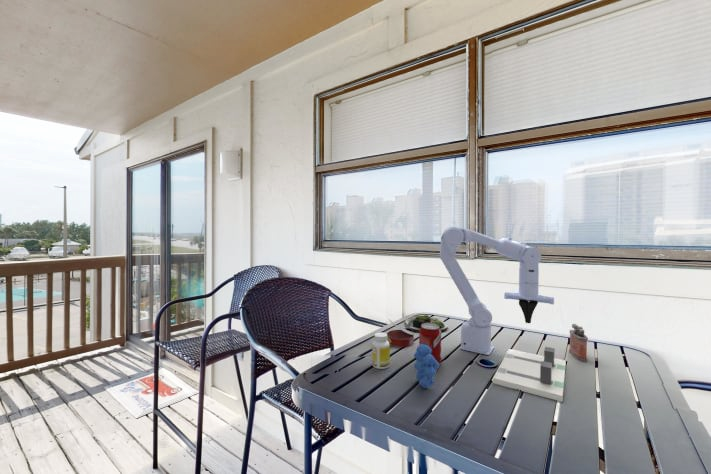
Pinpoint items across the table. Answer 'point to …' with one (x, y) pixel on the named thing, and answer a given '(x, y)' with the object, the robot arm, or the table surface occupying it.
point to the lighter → (578, 343)
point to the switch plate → (530, 374)
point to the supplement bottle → (380, 351)
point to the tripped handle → (546, 372)
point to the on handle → (549, 355)
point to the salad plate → (418, 320)
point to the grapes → (425, 365)
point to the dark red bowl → (400, 337)
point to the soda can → (431, 339)
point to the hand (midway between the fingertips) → (528, 322)
